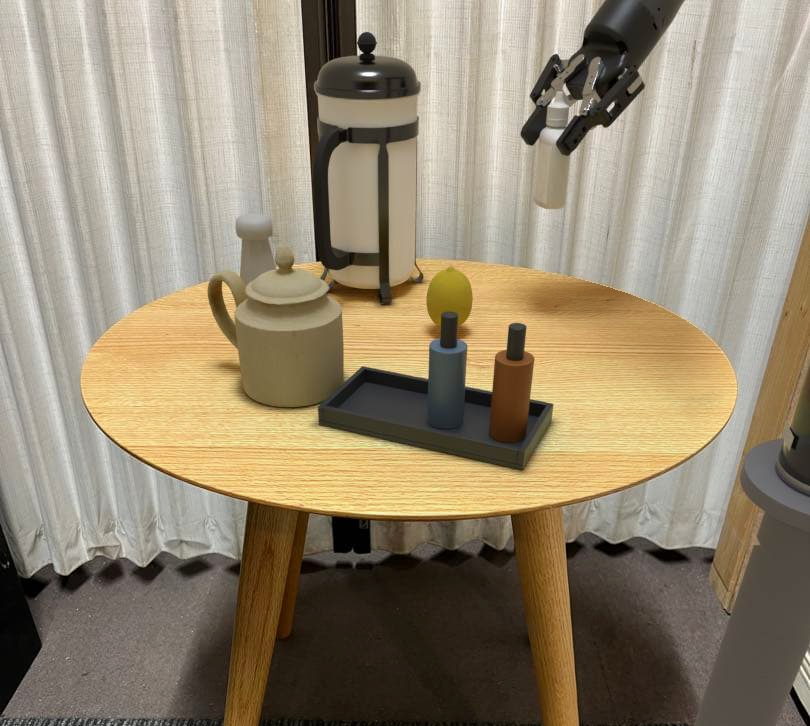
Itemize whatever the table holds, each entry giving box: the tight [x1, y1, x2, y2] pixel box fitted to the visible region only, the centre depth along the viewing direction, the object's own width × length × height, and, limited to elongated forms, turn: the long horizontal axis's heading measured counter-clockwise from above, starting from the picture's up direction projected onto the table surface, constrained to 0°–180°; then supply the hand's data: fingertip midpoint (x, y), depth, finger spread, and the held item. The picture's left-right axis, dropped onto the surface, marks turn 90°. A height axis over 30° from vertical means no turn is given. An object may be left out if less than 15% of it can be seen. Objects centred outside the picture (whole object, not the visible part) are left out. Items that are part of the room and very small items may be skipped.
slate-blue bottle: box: [427, 311, 468, 429], centre depth 79 cm, size 4×4×11 cm
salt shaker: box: [234, 212, 277, 286], centre depth 99 cm, size 6×6×13 cm
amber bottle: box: [489, 322, 535, 443], centre depth 77 cm, size 4×4×11 cm
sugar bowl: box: [207, 244, 345, 408], centre depth 85 cm, size 15×11×15 cm
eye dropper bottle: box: [533, 92, 571, 210], centre depth 96 cm, size 4×6×12 cm
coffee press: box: [312, 31, 425, 305], centre depth 104 cm, size 17×16×30 cm
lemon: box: [426, 266, 474, 328], centre depth 99 cm, size 6×6×8 cm
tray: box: [317, 366, 555, 471], centre depth 82 cm, size 21×10×2 cm, turn 67°
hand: (543, 145), depth 95 cm, fingers closed on eye dropper bottle, 5 cm apart
